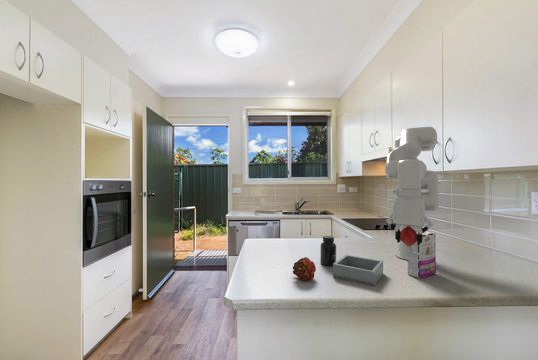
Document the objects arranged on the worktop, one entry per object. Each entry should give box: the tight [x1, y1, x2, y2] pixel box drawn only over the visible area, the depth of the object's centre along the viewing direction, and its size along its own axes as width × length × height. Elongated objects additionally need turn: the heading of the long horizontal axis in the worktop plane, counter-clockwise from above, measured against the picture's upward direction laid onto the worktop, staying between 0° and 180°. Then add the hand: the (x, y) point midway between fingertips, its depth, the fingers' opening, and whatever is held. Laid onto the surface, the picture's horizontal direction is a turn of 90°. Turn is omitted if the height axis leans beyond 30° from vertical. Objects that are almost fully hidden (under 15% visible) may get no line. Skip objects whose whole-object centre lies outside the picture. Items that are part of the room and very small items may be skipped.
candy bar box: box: [407, 230, 437, 279], centre depth 103 cm, size 11×5×16 cm, turn 117°
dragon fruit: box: [292, 256, 317, 282], centre depth 99 cm, size 8×8×12 cm
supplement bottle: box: [319, 235, 337, 267], centre depth 115 cm, size 7×7×12 cm
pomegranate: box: [400, 226, 417, 247], centre depth 95 cm, size 6×6×8 cm
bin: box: [332, 254, 384, 287], centre depth 102 cm, size 15×15×5 cm
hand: (408, 242), depth 95 cm, fingers closed on pomegranate, 5 cm apart
